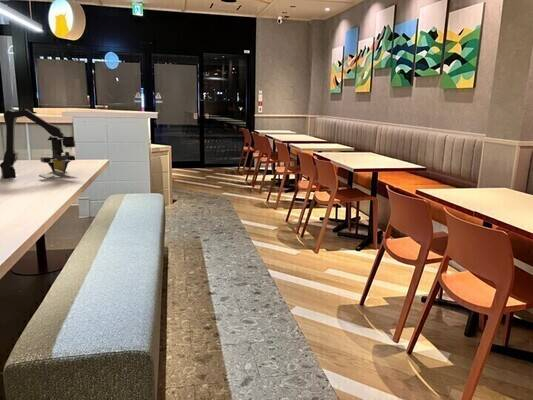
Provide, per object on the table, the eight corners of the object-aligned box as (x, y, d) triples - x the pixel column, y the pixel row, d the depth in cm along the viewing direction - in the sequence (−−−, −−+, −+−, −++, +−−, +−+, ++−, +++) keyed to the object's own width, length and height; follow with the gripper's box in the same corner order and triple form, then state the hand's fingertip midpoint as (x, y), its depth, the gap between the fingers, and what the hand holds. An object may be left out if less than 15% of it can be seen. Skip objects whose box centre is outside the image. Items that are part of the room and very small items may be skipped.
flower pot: (56, 172, 280) (54, 159, 278) (49, 171, 286) (48, 157, 283) (69, 171, 287) (68, 157, 285) (62, 169, 292) (61, 156, 290)
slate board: (47, 179, 259) (47, 178, 259) (39, 175, 269) (39, 174, 269) (70, 176, 268) (69, 175, 268) (60, 173, 278) (60, 172, 278)
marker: (60, 176, 266) (60, 172, 265) (53, 173, 275) (52, 169, 274) (64, 175, 268) (64, 171, 267) (57, 173, 276) (56, 169, 276)
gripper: (45, 149, 255) (48, 176, 258) (77, 147, 267) (79, 172, 271) (39, 147, 262) (41, 173, 266) (70, 146, 275) (72, 170, 279)
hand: (59, 172), depth 270 cm, fingers open, 6 cm apart
